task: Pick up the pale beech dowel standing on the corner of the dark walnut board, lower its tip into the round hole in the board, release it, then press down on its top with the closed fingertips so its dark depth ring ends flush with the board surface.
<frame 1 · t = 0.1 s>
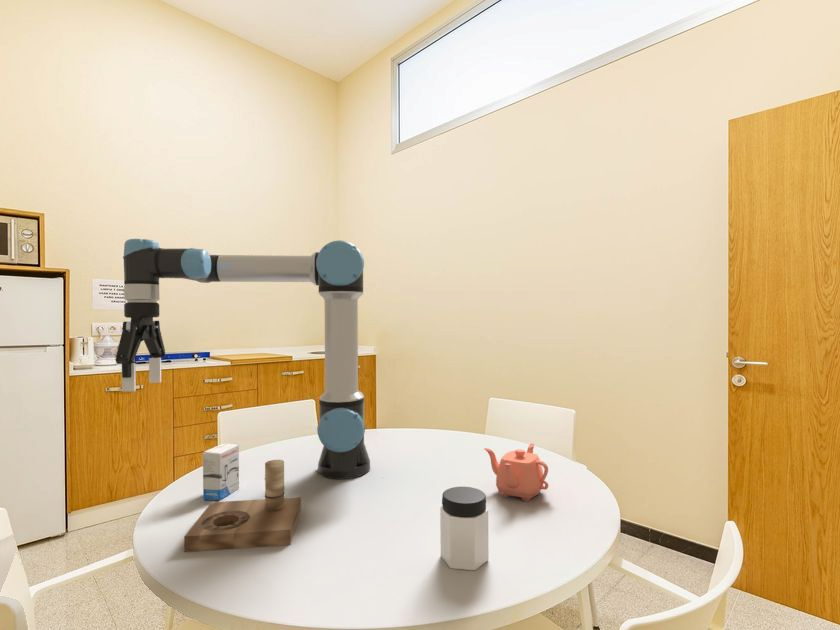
hand: (142, 386, 113), 28 cm above the table, fingers open, 13 cm apart
teapot: (515, 493, 116), on the table
jar: (464, 559, 85), on the table
dowel: (274, 507, 101), point 3 cm above the table, touching board
ink box: (221, 494, 116), on the table
board: (248, 528, 97), on the table
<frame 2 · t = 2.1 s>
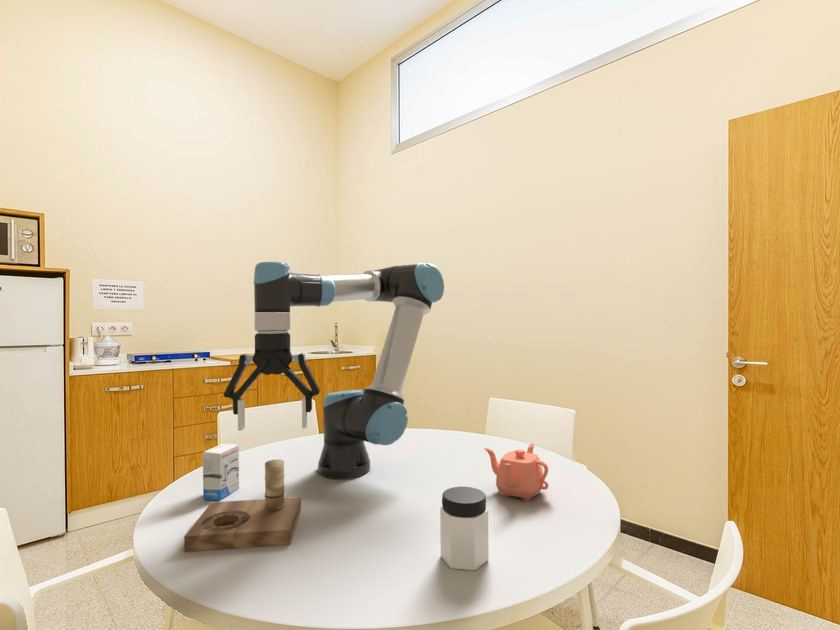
hand: (273, 428, 101), 21 cm above the table, fingers open, 13 cm apart
nothing on the table moved.
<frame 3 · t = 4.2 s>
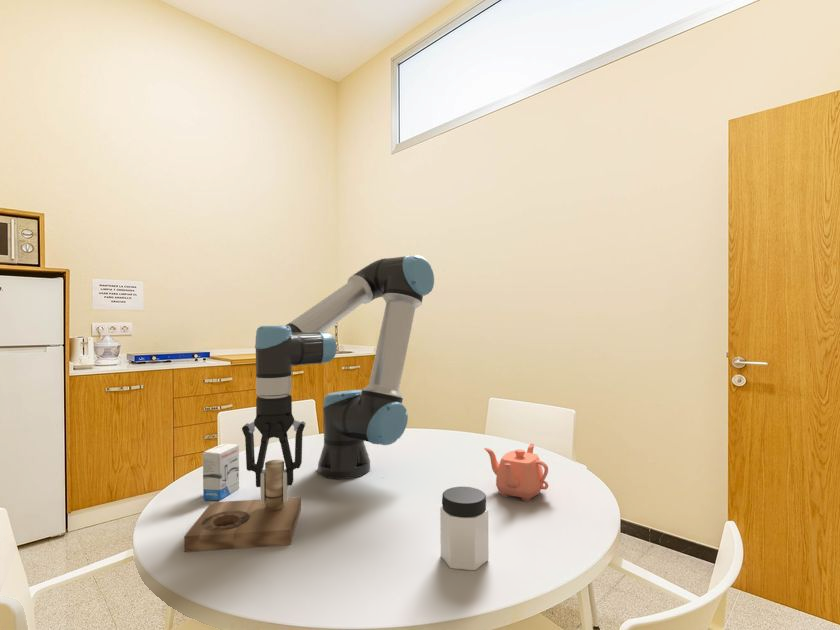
hand: (274, 500, 101), 5 cm above the table, fingers closed on dowel, 4 cm apart
dowel: (274, 507, 101), point 3 cm above the table, touching board, gripper
everything else where it was.
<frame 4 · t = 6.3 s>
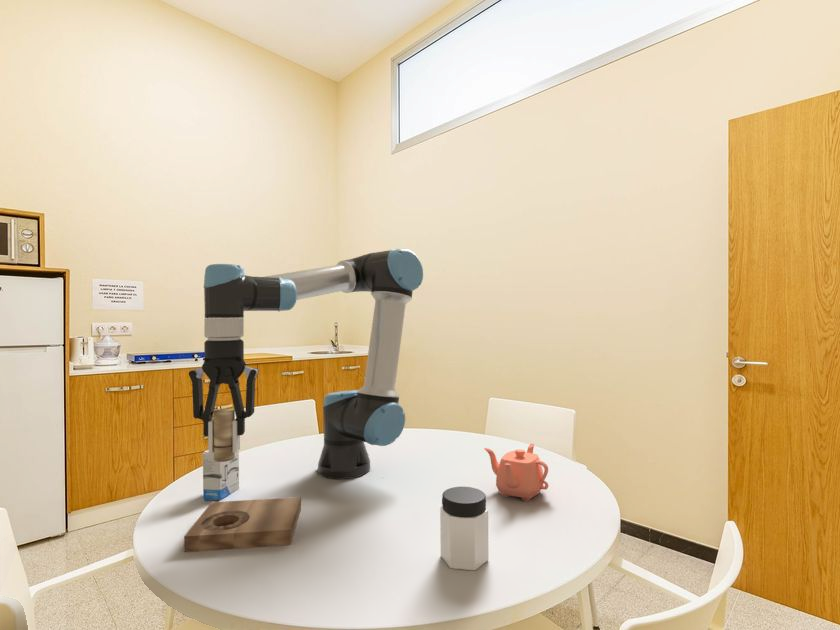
hand: (224, 451, 94), 18 cm above the table, fingers closed on dowel, 4 cm apart
dowel: (224, 458, 94), point 16 cm above the table, touching gripper
everything else where it was.
when the fingers open (4 cm above the table, at t = 8.3 s): dowel drops 3 cm, resting in board.
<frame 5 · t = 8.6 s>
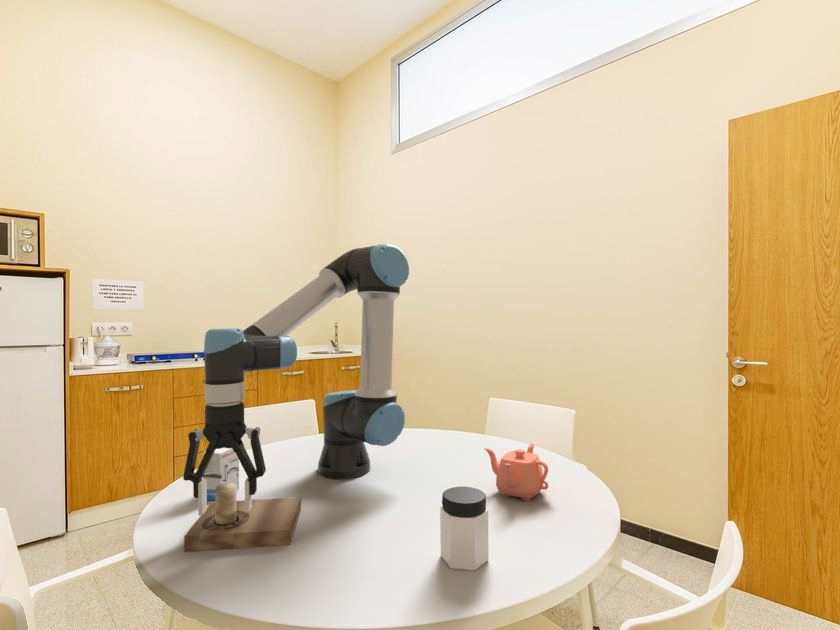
hand: (225, 511, 94), 5 cm above the table, fingers open, 8 cm apart
dowel: (225, 534, 94), resting in board
everything else where it was.
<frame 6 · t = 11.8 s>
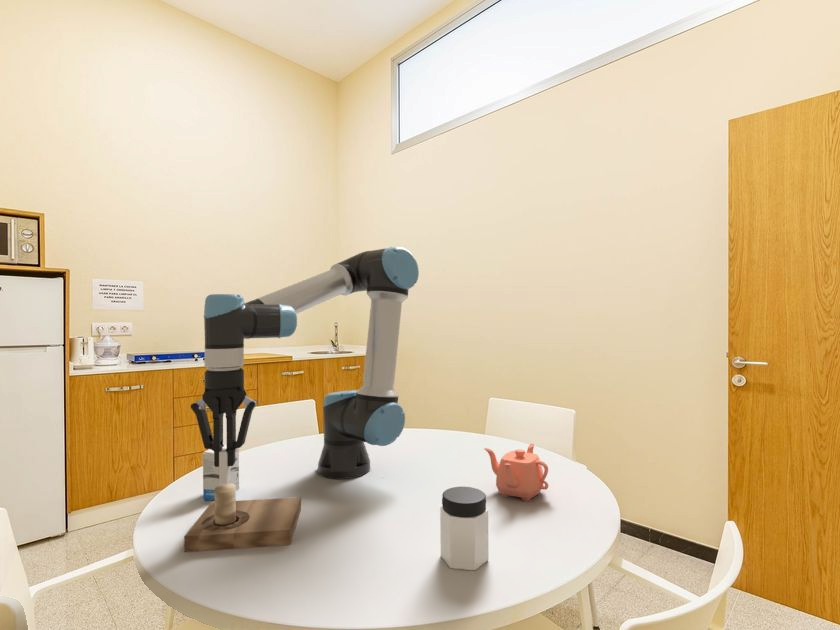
hand: (225, 481, 94), 11 cm above the table, fingers closed
nothing on the table moved.
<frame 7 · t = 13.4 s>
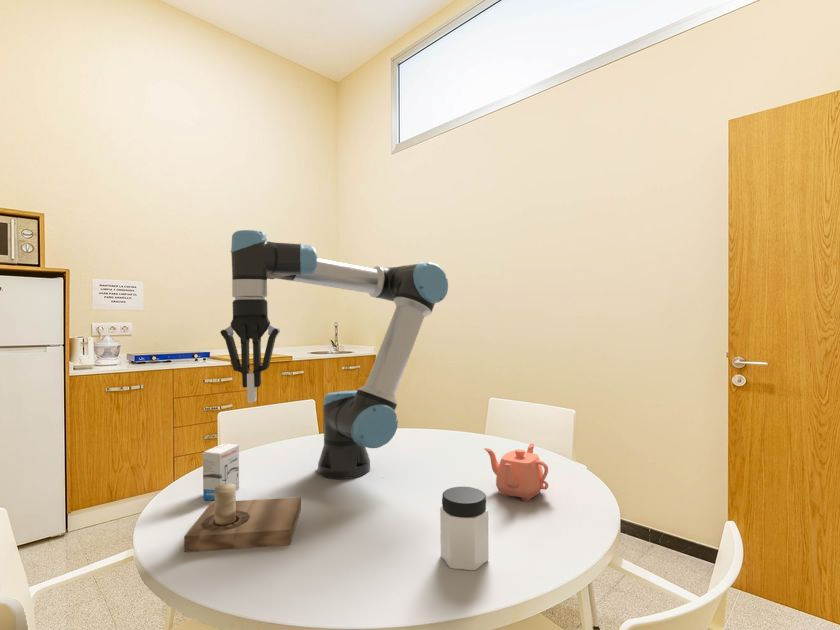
hand: (252, 401, 104), 26 cm above the table, fingers closed
nothing on the table moved.
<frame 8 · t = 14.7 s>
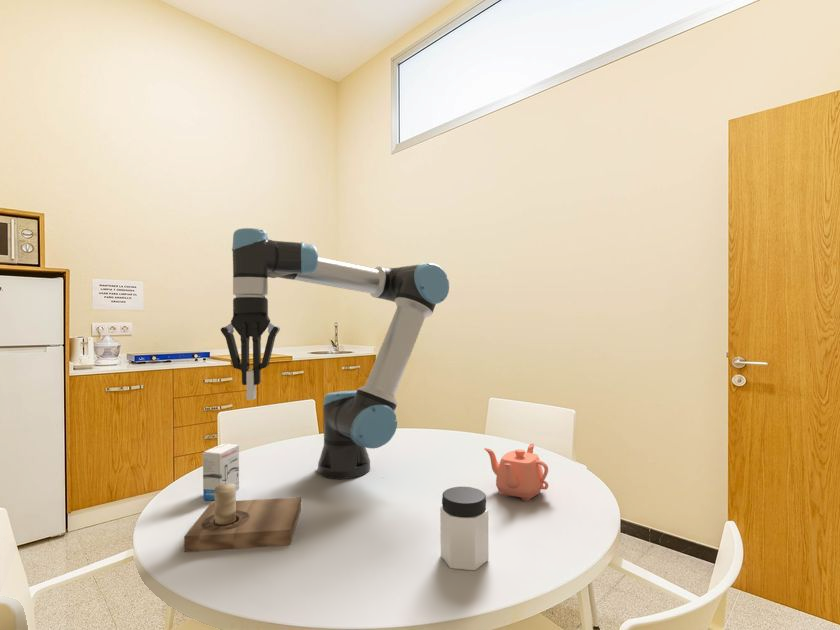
hand: (251, 398, 105), 26 cm above the table, fingers closed
nothing on the table moved.
at the end: dowel 0.1 cm from the target spot in the board, point 0.0 cm above the board's base; dowel tilted 0°; the gripper is holding nothing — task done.
